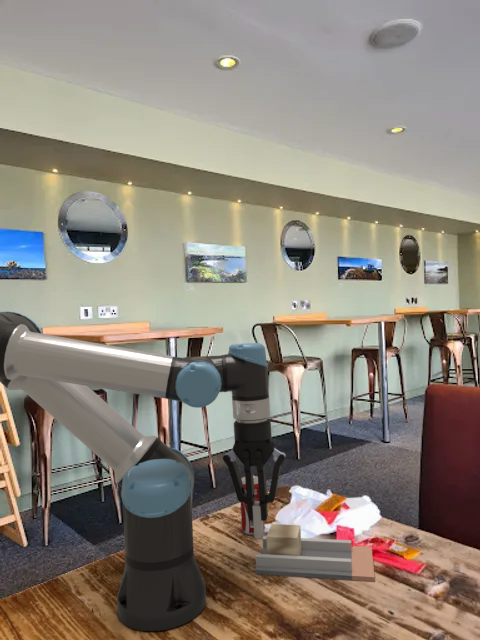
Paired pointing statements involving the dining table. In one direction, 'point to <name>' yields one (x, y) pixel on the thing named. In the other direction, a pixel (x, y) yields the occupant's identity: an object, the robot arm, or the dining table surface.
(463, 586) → the dining table surface
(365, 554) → the chute
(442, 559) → the dining table surface
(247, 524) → the soda can
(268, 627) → the dining table surface
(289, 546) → the ash block
